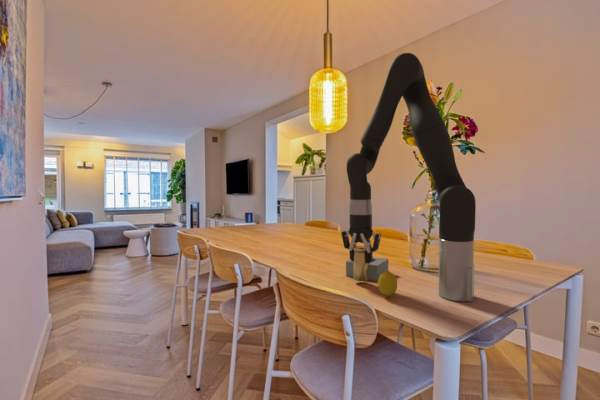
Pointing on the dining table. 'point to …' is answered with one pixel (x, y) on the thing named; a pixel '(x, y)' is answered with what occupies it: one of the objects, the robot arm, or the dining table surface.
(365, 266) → the glass jar
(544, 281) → the dining table surface
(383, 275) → the lemon
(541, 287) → the dining table surface
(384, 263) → the block
